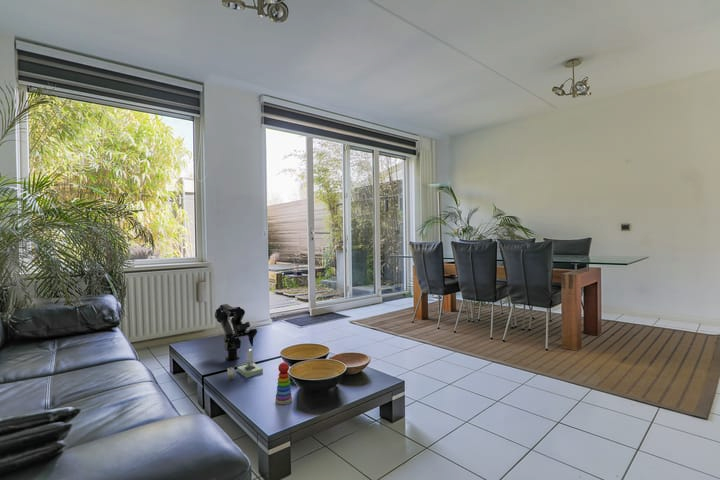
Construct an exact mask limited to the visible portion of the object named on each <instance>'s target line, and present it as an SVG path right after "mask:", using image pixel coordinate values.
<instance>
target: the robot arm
mask: <svg viewBox="0 0 720 480" xmlns="http://www.w3.org/2000/svg"><path fill="white" fill-rule="evenodd" d="M245 314H246V311H245V309H244V308H241V306H231V305H229V304H228V303H224V304H221V305H219V307H218V308H217V309H216V310H215V312H214V318H215V319H216V321H217V322H218V323H220V324H221V327H222V329H223V331H224V334H225V335H224V338H223V342H224V346H223V347H224V348H223V349H224V350H225V351H226V352H227V356H226V357H225V360H228V361H229V362H230V361H234V360H235V361H236V360H238V359H240V357H239V356H238V349H241V344H242V340H241V339H240V338H241V337H248V340H249V343H250V346H251V347H253V346H254V338H255V337H256V335H257V333H258V330H257V328H250V327H251V324H250V321H246V322H245V323H243V322H242V320H243V318H244V316H245ZM229 318H231V319H230V321H229ZM231 325H232V326H231ZM248 328H250V329H249V330H248V331H247V329H248Z"/></svg>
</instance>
